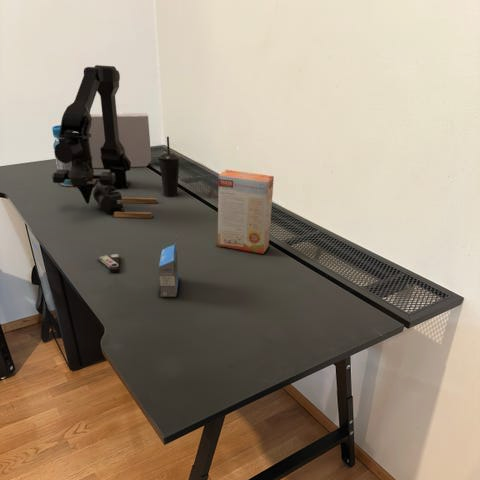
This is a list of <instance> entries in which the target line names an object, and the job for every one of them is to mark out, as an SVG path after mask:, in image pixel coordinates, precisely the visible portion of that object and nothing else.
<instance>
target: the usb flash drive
mask: <svg viewBox="0 0 480 480" xmlns="http://www.w3.org/2000/svg"><path fill="white" fill-rule="evenodd" d="M98 259H99V261H100V262H101V263H103V264H104V265H105V266H106V267H107V268H109V272H110V273H118V272H119V271H120V257H119V253H118V254H117V253H115V254H111V255H110V257H109V255H106V254H105V255H102V256H99V257H98Z"/></svg>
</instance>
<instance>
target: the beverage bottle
mask: <svg viewBox="0 0 480 480" xmlns="http://www.w3.org/2000/svg"><path fill="white" fill-rule="evenodd" d="M60 127H61V124H58V125H54V126H52V128H51V130H52V136H53V138H54V139H55V140H54V142H53V151H54V150H55V146H56V145H57V144H59V138H64V137H59V133H60ZM66 132H71V131H66ZM54 158H55V163H56V168H57V170H58V169H62V170H69V171H70V170H71V167H72V161H71V162H69V163H62V162H60V161H59V160H58V159H57V158H56V156H55V153H54ZM60 185H62V186H64V187H74V186H73V185H71V182H70V180H69V179H65V181H64V182H63V183H60Z"/></svg>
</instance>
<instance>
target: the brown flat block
mask: <svg viewBox="0 0 480 480" xmlns="http://www.w3.org/2000/svg"><path fill="white" fill-rule="evenodd" d="M121 197H122V200H121V203H122V204H123V203H126V204H157V203H158V199H157V198H155V197H126V196H125V197H123V196H121ZM113 217H114V218H134V219H135V218H138V219H141V218H142V219H152V218H153V212H149V211H146V212H145V211H144V212H142V211H123V212H114V214H113Z"/></svg>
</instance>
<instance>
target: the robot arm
mask: <svg viewBox="0 0 480 480" xmlns="http://www.w3.org/2000/svg"><path fill="white" fill-rule="evenodd" d="M120 80H121V74H120V72H119V70H117V68H116V66H114V65H101V64H95V65H94V66H87V67H84V69H83V76H82V80H81V82H80V85H79V87H78V90H77V92H76V96H75V99H74V101H73V102H72V103H70V104H69V105H67V107H66V108H65V110H64V112H63V114H62V117H61V122H60V125H61V127H60V133H59V137H64V138H59V144H57V145H56V146H55V150H54V149H53V152H54V153H55V155H54V157H55V156H56V158H57V159H58V160H59V161H60V162H62V163H69V162H71V161H72V167H71V170H70V171H69V170H62V169H58V168H57V169H56V170H55V172H53V174H52V176H51V178H52V183H53V184H61V183H63V182H64V181H65V179H69V180H70V182H71V185H73V186H72V187H75V188H77V189H78V191H79V192H80V194H81V195H82V198H83V199H84V202H85V203H86V205H89V204H90V202H91V197H92V194H93V189H94V188H96V187H97V184H98V183H99V184H100V185H101V186H105V187H112V186H114V187H115V188H116V189H127V188H128V187H129V185H130V181H128V178H127V172H128V171H129V172H130V171H131V168H132V167H131V162H130V161H129V159H128V158H127V156H126V155H125V149H124V147H123V146H122V144H121V142H120V141H119V133H118V122H117V114H118V112H117V102H116V95H117V93H118V91H119V89H120ZM97 94H98V95H99V97H100V106H101V114H102V116H103V126H104V135H105V143H104V145H103V147H101V149H100V151H101V161H102V164H103V167H104V168H103V170H108V171H102V172H101V173H100V174H94V173H95V170H94V169H95V168H93V167H92V156H91V151H90V143H89V138H90V137H91V134H90V133H89V130H90V128H91V122H92V117H91V114H92V113H91V109H92V107H93V104H94V102H95V99H96V97H97ZM66 131H71V132H66ZM56 158H55V159H56Z"/></svg>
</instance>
